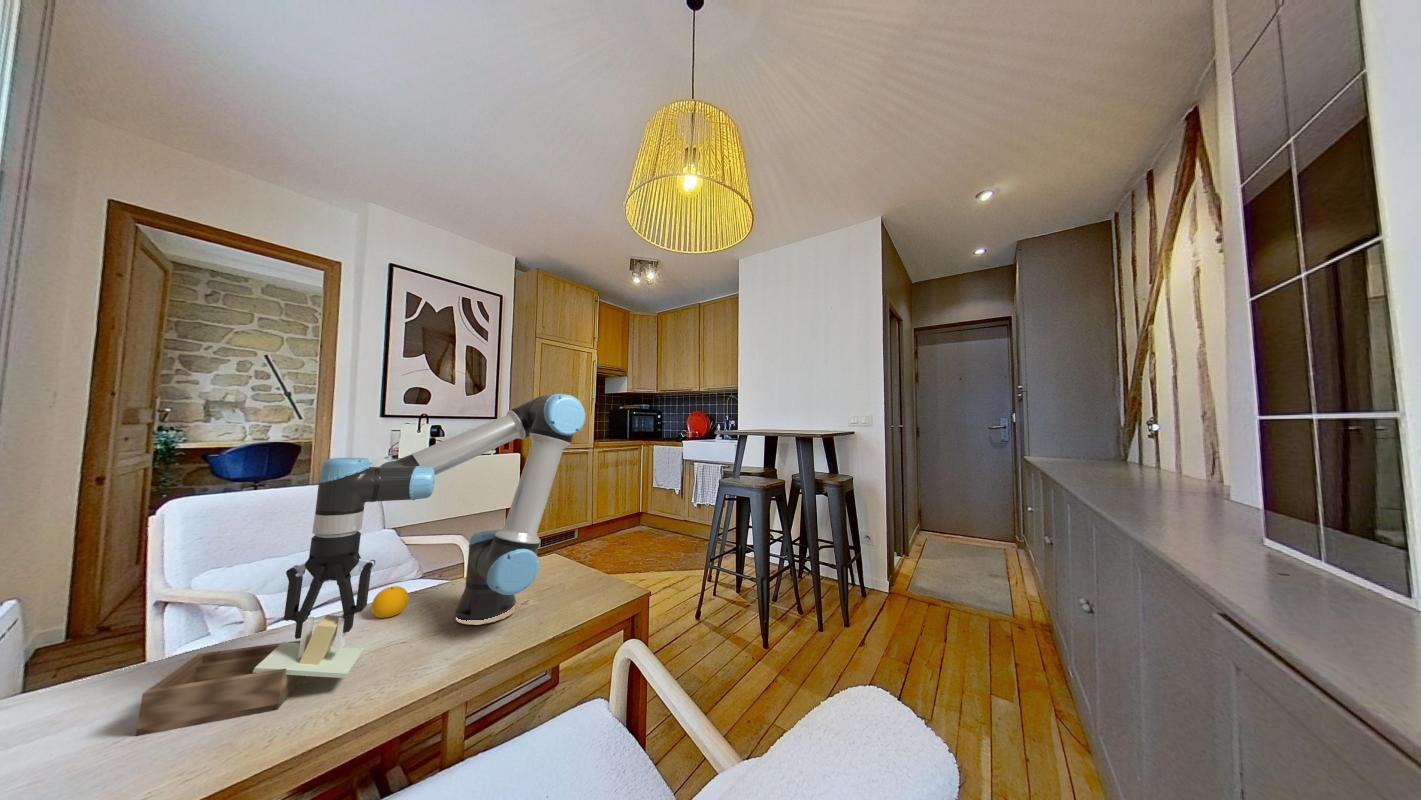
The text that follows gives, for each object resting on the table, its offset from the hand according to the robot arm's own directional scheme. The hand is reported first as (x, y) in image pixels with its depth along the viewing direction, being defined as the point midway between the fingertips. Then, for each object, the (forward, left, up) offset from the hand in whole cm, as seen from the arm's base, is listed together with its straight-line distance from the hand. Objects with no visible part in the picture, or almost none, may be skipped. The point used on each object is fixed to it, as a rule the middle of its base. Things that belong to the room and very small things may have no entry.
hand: (322, 651), depth 80 cm
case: (+12, 0, -6) cm, 13 cm away
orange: (-4, -32, -7) cm, 33 cm away
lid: (+1, 0, -2) cm, 2 cm away
